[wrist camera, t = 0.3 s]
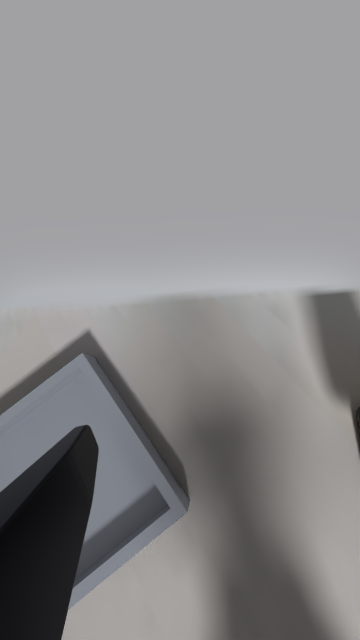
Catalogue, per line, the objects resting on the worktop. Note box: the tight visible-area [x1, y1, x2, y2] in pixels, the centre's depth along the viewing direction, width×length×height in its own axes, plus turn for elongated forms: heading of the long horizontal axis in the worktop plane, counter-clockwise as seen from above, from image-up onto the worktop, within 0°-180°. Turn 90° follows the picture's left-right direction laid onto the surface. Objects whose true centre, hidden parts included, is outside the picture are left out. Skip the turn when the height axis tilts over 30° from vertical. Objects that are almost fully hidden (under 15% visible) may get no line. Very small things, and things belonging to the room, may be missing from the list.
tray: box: [0, 353, 190, 609], centre depth 22 cm, size 14×14×2 cm
